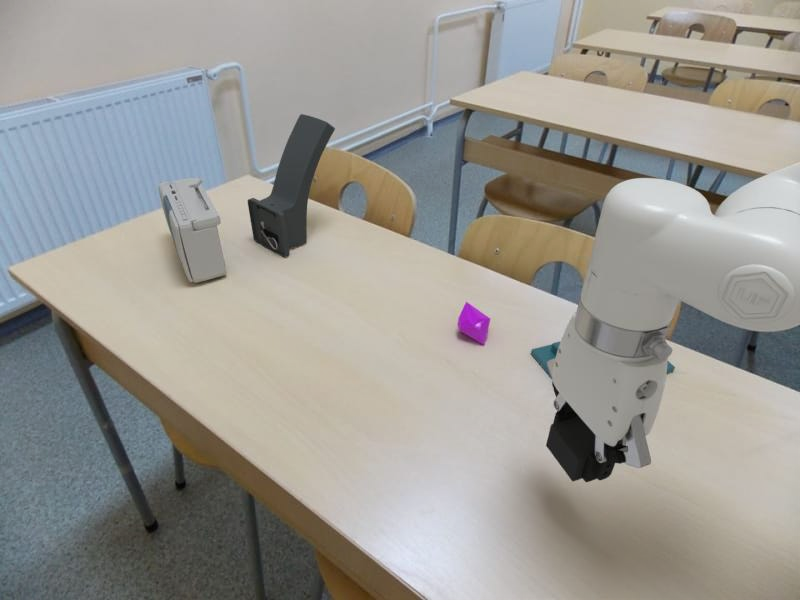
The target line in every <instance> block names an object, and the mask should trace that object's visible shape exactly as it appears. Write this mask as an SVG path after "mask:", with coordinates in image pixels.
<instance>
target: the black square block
mask: <svg viewBox="0 0 800 600" xmlns="http://www.w3.org/2000/svg"><path fill="white" fill-rule="evenodd" d="M545 447H546V448H547V449H548V450H549V452H550V453H551V455H552V456H553V458H554V459H555V460H556V461H557V463H558V465H560V467H561V468H562V470H563V471H564V472H565V474H566V475H567V477H569V479H570V480H571V482H576V481H579V480H583V478H582V475H583V472H584V469H585V466H586V463H587V459H588V455H589V454H590V453H592V452H594V451H595V434H594V433H593V432H592V431H591V429H590V428H589V427H588V426H587V425H586V424H585V423H584V421H583V420H582V419H581V418H580V417H579V416H577V417H574V418H571V419H567V420H564V421H561V422H557V423H554V424H553V423H551V425H550V428H549V431H548V435H547V439H546V444H545Z"/></svg>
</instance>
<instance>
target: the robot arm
mask: <svg viewBox="0 0 800 600" xmlns="http://www.w3.org/2000/svg"><path fill="white" fill-rule="evenodd" d="M592 243H593V244H592V249H591V252H590V255H589V260H588V263H587V268H586V272H585V276H584V279H583V280H584V281H583V284H582V288H581V292H580V296H579V300H578V304H577V308H576V311H575V312H574V313H573V315H571V318H570V320H569V321H568V323H567V325H566V328H565V330H564V332H563V335H562V337H561V340H560V341H561V342H560V341H559V342H560V345H559V348H558V351H557V354H556V358H554V359H551V360H549V361H548V362H547V365H548V368H549V371H550V374H551V377H552V378H551V377H550V378H551V380H552V382H551V386H552V388H553V392H554V396H555V398H554V400H553V408H554V409H555V410H556V412H555V414H554V418H553V423H552V424H554V423H557V422H561V421H564V420H567V419H571V418H574V417H577V416H579V417H580V418H581V419H582V420H583V421H584V423H585V424H586V425H587V426H588V427H589V428H590V429H591V431H592V432H593V433H594V434H595V451H594V452H592V453H590V454H589V455H588V459H587V463H586V466H585V469H584V472H583V475H582V480H583V481H584V482H585V483H589V482H592V481H595V480H598V481H603V480H606V479H608V478H609V477H610V476H611V475H612V473H613V471H614V468H615V464H619V465H620V464H625V465H627V466H629V467H632V468H636V469H641V468H644V467H646V466H649V465H651V464H652V459H651V458H652V457H651V453H650V450H649V444H648V441H647V437H646V436H648V435H649V434H650V433H651V431H652V429H653V427H654V423H655V422H656V418H657V415H658V413H659V409H660V406H661V403H662V399H663V395H664V391H665V387H666V380H667V375H668V373H667V363H668V361H669V360H668V359H669V357H670V356H671V355H672V353H673V348H672V347H671V346H670V345H669V344H668V342H667V341H666V339H667V336H668V334H669V330H670V327H671V325H672V322H673V319H674V317H675V314H676V312H677V309H678V306H679V304H680V301H681V302H682V303H685V304H687V305H688V306H691V307H692V308H694V309H696V310H698V311H700V312H702V313H704V314H706V315H708V316H711V317H712V318H714V319H716V320H718V321H721V322H723V323H725V324H727V325H730V326H733V327H736V328H739V329H744V330H747V331H752V332H753V331H754V332H758V333H759V332H760V333H761V332H764V333H773V332H774V333H775V332H781V331H787V330H790V329H793V328H796V327H798V326H799V325H800V161H799V162H796V163H794V164H790V165H788V166H786V167H782V168H780V169H778V170H775V171H773V172H771V173H768V174H765V175H763V176H760V177H757V178H756V179H754V180H751V181H750V182H748V183H745V184H744V185H742V186H741V187H739V188H738V189H737V190H735V191H733V192H732V193H731V194H729V195H728V196H727V197H726V198H725V199H724V200H723V201H722V202H721V203H720V204H719V206H718V208H717V209H716V210H715V213H714V214H713V212H712V210H711V206H710V203H709V201H708V200H707V198H706V197H705V196H704V195H703V194H702V193H701V192H700V191H698V190H696V189H694V188H693V187H691V186H688V185H686V184H683V183H680V182H677V181H673V180H668V179H664V178H654V177H637V178H631V179H626V180H624V181H622V182H619V183H616V185H614V186H613V187H612V188H611V189H610V190H609V192H608V193H607V194H606V196H605V198H604V201H603V204H602V207H601V211H600V214H599V219H598V224H597V228H596V231H595V235H594V239H593V242H592Z"/></svg>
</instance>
